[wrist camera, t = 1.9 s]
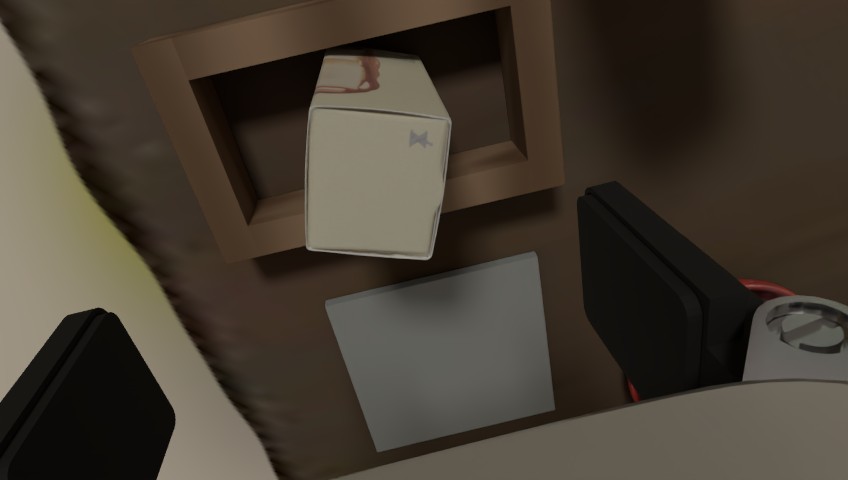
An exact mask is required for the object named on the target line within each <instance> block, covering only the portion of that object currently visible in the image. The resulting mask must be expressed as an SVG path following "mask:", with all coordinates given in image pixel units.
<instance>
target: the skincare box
mask: <svg viewBox="0 0 848 480" xmlns="http://www.w3.org/2000/svg"><path fill="white" fill-rule="evenodd" d="M451 125H452V122H451V118H450V117H449V114H448V113H447V111H446V109H445V107H444V105H443V103H442V101H441V99H440V97H439V95H438V93H437V91H436V89H435V87H434V85H433V83H432V81H431V79H430V77H429V75H428V73H427V71H426V69H425V67H424V65H423V63H422V61H421V59H420V57H419V56H417V55H411V54H405V53H399V52H392V51H385V50H378V49H369V48H362V47H351V46H334V47H330V48H327V49H326V52H325V56H324V60H323V64H322V67H321V70H320V74H319V78H318V81H317V85H316V89H315V92H314V96H313V99H312V102H311V105H310V109H309V116H308V128H307V142H306V160H305V234H306V248H307V249H308V250H311V251H322V252H331V253H341V254H352V255H363V256H374V257H385V258H400V259H418V260H428V259H430V258H431V257H432V254H433V249H434V244H435V239H436V235H437V229H438V223H439V218H440V212H441V207H442V201H443V196H444V188H445V181H446V172H447V164H448V155H449V146H450V135H451Z"/></svg>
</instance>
